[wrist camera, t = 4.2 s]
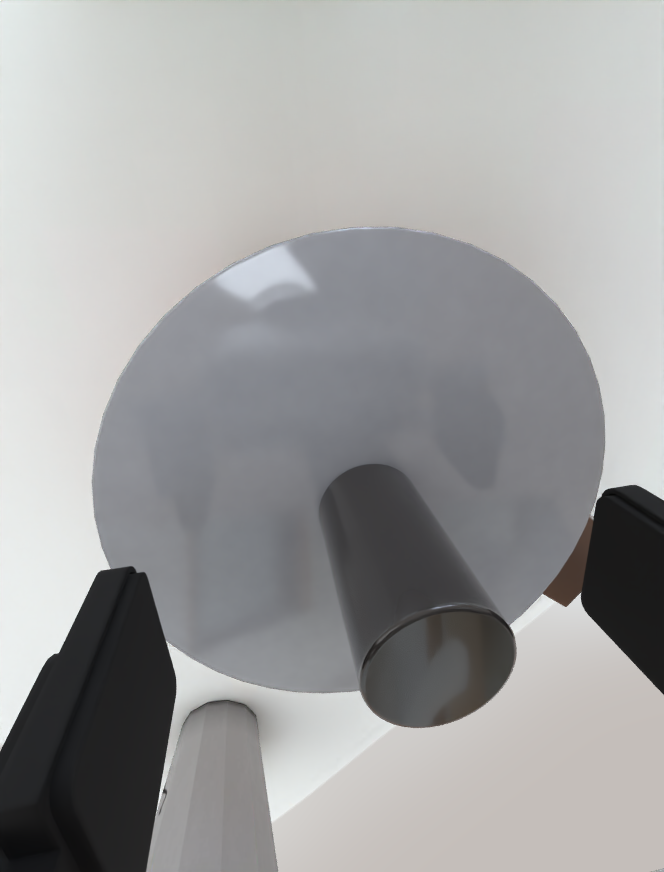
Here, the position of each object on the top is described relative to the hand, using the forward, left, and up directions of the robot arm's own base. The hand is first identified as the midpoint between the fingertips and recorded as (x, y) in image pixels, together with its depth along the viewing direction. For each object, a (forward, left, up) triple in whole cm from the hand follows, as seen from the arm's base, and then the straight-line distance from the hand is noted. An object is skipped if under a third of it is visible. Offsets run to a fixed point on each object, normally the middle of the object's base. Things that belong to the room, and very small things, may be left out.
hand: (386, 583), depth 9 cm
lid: (0, 0, -3) cm, 3 cm away
